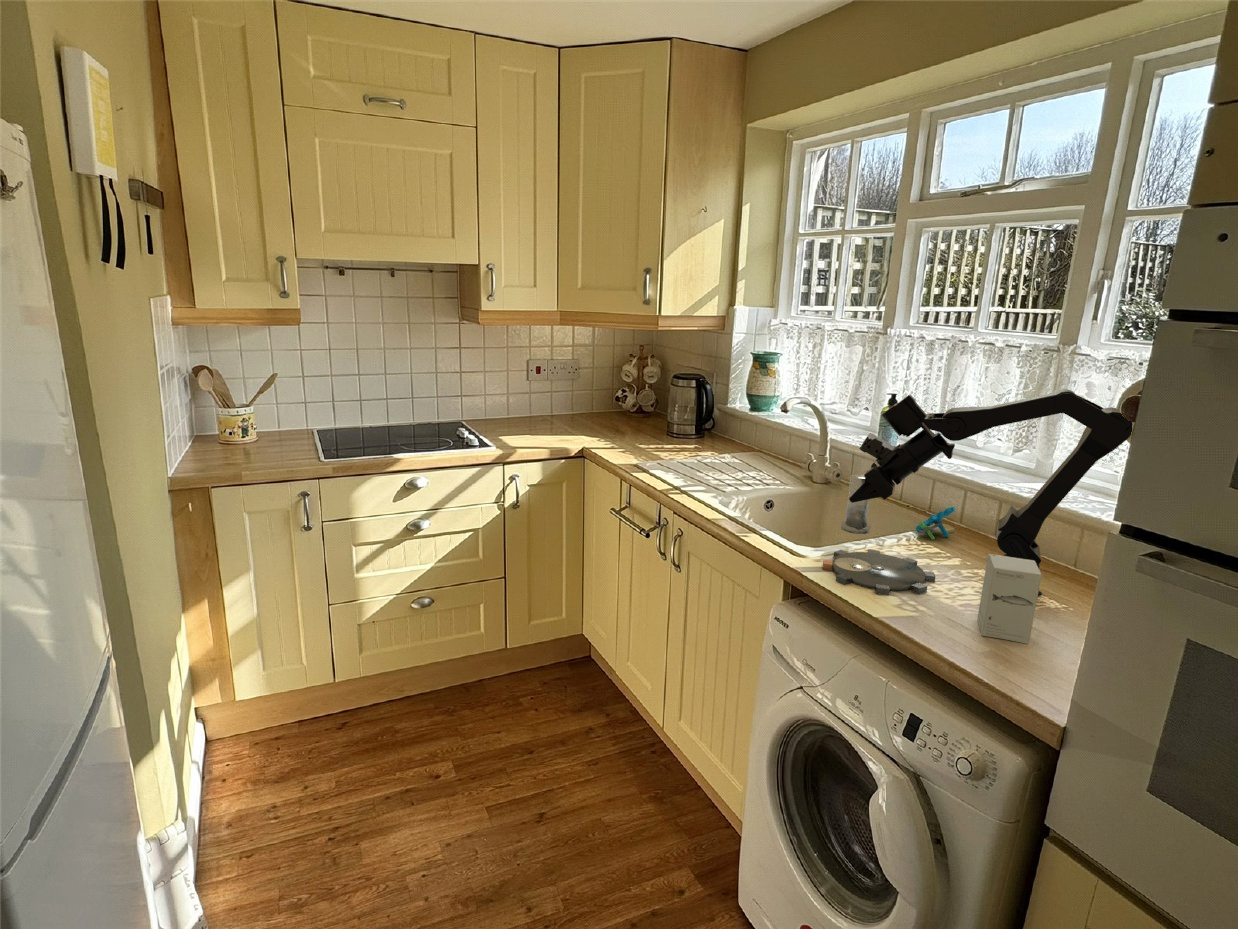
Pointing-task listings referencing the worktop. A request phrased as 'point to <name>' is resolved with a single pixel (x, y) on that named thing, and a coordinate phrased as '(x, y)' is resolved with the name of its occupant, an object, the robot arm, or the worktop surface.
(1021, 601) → the supplement box
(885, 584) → the sprocket plate
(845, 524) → the pin
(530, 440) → the worktop surface
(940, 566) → the worktop surface
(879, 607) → the worktop surface
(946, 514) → the cyan green stick cluster
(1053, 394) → the robot arm
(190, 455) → the worktop surface
